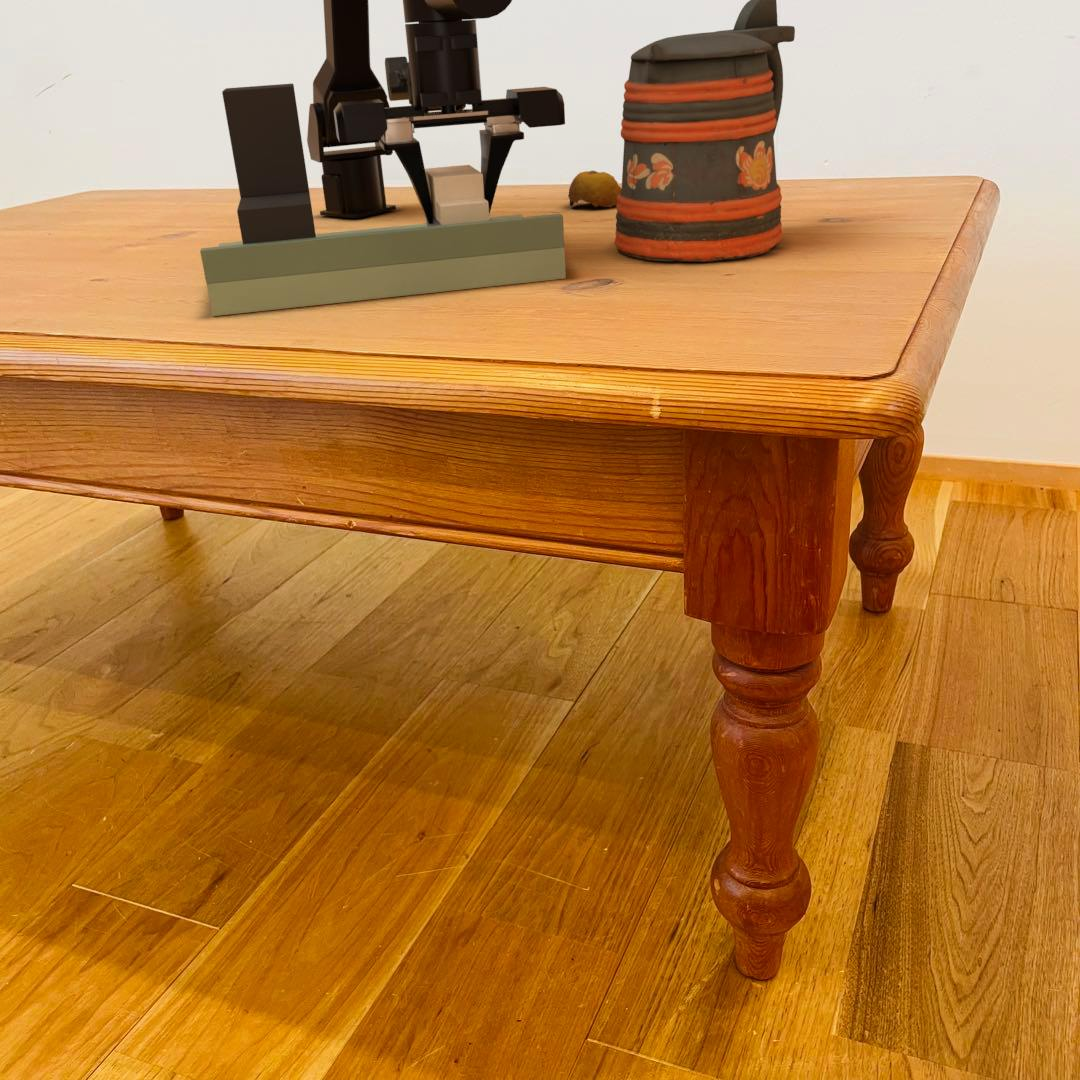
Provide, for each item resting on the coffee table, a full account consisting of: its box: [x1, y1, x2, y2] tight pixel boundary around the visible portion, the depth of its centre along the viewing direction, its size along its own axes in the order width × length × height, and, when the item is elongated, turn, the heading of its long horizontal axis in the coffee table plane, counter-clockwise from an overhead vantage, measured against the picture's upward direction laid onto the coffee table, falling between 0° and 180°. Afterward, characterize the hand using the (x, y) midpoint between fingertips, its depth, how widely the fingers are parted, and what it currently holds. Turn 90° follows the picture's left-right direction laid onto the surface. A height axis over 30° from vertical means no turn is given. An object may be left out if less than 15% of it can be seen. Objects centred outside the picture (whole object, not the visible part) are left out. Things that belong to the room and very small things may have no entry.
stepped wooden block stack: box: [425, 164, 491, 226], centre depth 93 cm, size 10×4×5 cm, turn 12°
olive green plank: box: [199, 213, 567, 317], centre depth 92 cm, size 18×28×5 cm, turn 102°
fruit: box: [567, 170, 622, 208], centre depth 119 cm, size 8×8×4 cm
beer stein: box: [614, 0, 796, 263], centre depth 93 cm, size 19×15×20 cm
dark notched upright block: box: [221, 83, 317, 244], centre depth 86 cm, size 12×6×13 cm, turn 12°
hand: (458, 220), depth 93 cm, fingers closed on stepped wooden block stack, 4 cm apart
